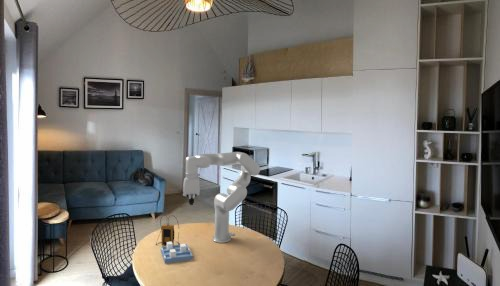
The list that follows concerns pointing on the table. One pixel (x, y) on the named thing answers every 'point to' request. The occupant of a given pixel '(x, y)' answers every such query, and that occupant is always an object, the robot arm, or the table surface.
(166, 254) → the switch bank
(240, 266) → the table surface
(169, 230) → the multimeter
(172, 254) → the white square block
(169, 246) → the white block
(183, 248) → the white rectangular block
